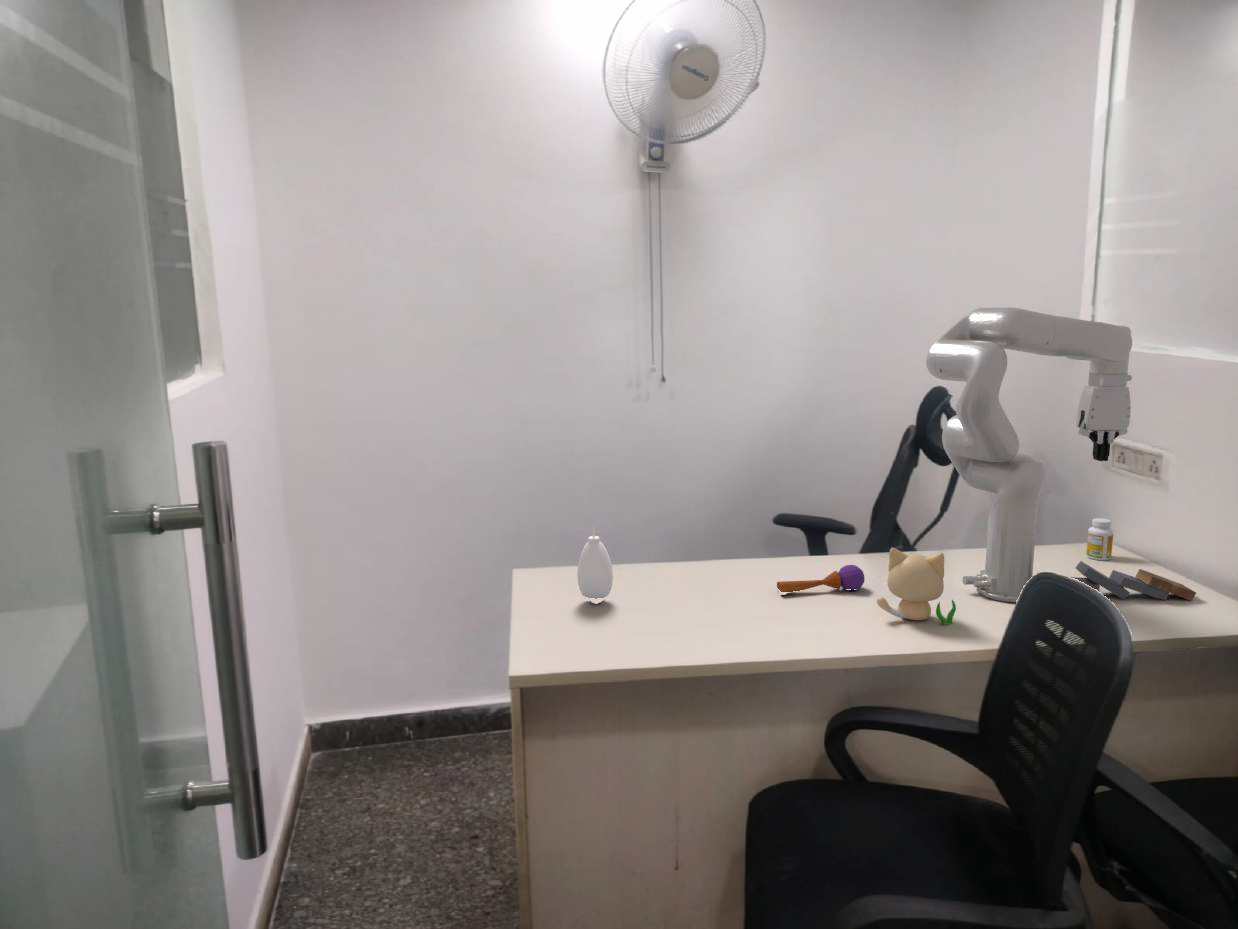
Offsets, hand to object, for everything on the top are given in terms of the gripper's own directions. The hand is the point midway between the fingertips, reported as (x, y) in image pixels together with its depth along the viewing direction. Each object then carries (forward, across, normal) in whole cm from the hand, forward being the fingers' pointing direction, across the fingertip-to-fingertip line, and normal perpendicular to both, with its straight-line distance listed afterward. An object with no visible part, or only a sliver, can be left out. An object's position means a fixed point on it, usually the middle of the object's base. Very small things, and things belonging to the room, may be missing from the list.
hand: (1100, 459), depth 189 cm
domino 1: (+25, +8, +16) cm, 30 cm away
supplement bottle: (+27, -8, -10) cm, 30 cm away
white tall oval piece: (+27, +118, +8) cm, 121 cm away
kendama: (+28, +66, +7) cm, 72 cm away
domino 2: (+26, +3, +16) cm, 31 cm away
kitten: (+27, +51, +24) cm, 63 cm away
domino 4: (+26, -10, +18) cm, 33 cm away
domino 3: (+26, -5, +17) cm, 32 cm away
